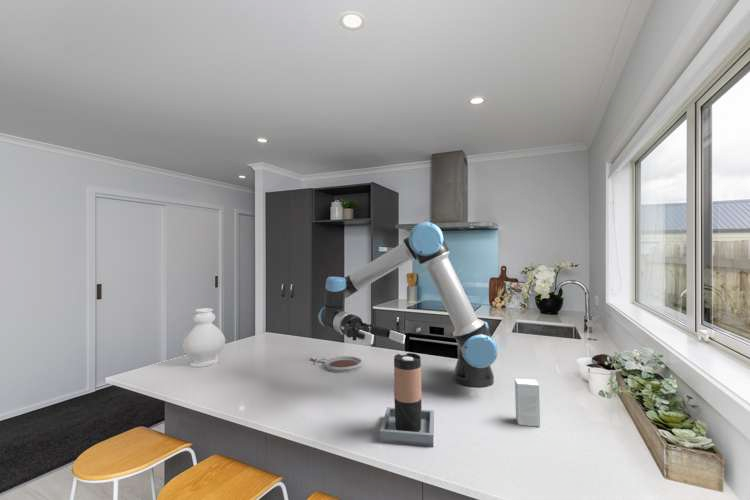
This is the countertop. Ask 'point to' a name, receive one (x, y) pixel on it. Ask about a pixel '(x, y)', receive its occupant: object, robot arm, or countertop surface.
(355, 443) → the countertop surface
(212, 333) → the decorative vase
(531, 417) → the skincare box
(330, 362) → the frying pan
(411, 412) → the travel mug
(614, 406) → the countertop surface
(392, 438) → the tray
